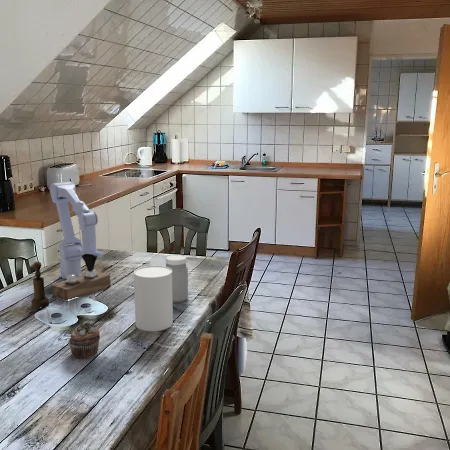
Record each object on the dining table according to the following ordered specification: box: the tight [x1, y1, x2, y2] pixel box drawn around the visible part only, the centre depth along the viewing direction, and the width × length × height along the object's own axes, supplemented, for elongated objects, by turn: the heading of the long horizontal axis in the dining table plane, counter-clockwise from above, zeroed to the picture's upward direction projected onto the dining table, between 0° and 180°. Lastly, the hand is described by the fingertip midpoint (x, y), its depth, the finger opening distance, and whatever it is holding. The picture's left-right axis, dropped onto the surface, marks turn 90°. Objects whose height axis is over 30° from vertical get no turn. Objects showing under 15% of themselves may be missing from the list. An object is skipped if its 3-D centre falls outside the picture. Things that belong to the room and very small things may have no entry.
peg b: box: [84, 268, 97, 279], centre depth 216 cm, size 4×4×5 cm
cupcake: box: [68, 321, 101, 360], centre depth 158 cm, size 10×10×10 cm
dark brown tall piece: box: [30, 261, 50, 309], centre depth 195 cm, size 7×6×18 cm
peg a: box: [66, 273, 78, 286], centre depth 208 cm, size 4×4×5 cm
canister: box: [133, 264, 174, 332], centre depth 180 cm, size 14×14×20 cm
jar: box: [165, 254, 189, 304], centre depth 203 cm, size 10×10×18 cm
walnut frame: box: [51, 270, 112, 301], centre depth 212 cm, size 10×23×5 cm, turn 147°
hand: (90, 270), depth 215 cm, fingers closed, pressing on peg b
